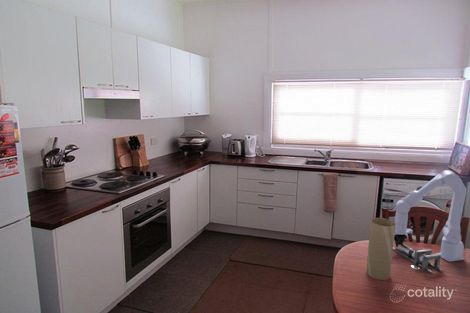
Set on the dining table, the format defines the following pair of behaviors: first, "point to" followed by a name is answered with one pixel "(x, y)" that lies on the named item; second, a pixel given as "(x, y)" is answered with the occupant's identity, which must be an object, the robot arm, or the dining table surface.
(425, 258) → the grey metal angular piece
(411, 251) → the grey metal elongated piece
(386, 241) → the tube
